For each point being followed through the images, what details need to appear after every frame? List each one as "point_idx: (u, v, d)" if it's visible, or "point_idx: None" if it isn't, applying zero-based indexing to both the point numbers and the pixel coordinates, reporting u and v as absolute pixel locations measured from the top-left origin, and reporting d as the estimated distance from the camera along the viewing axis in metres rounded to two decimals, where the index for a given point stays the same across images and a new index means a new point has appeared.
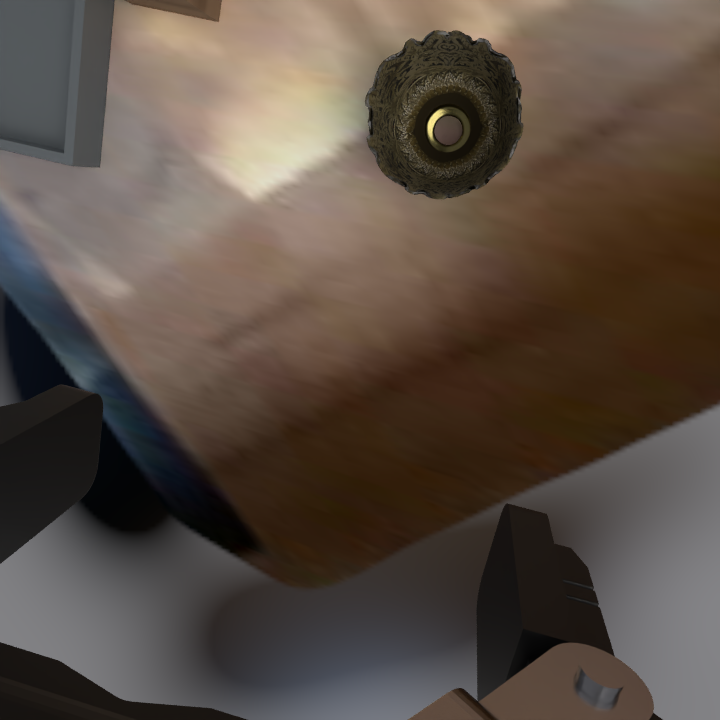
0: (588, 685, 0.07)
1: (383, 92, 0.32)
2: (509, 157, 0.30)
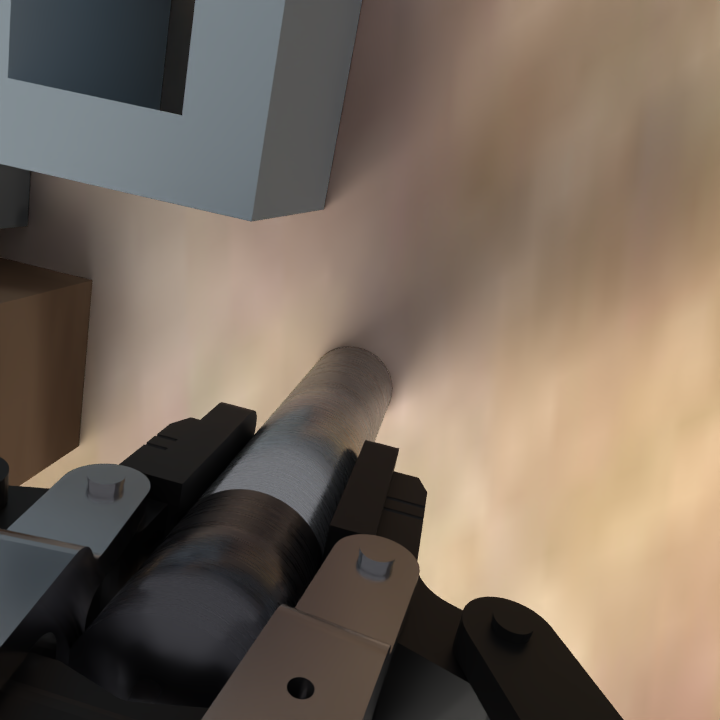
0: (369, 565, 0.08)
1: None
2: None
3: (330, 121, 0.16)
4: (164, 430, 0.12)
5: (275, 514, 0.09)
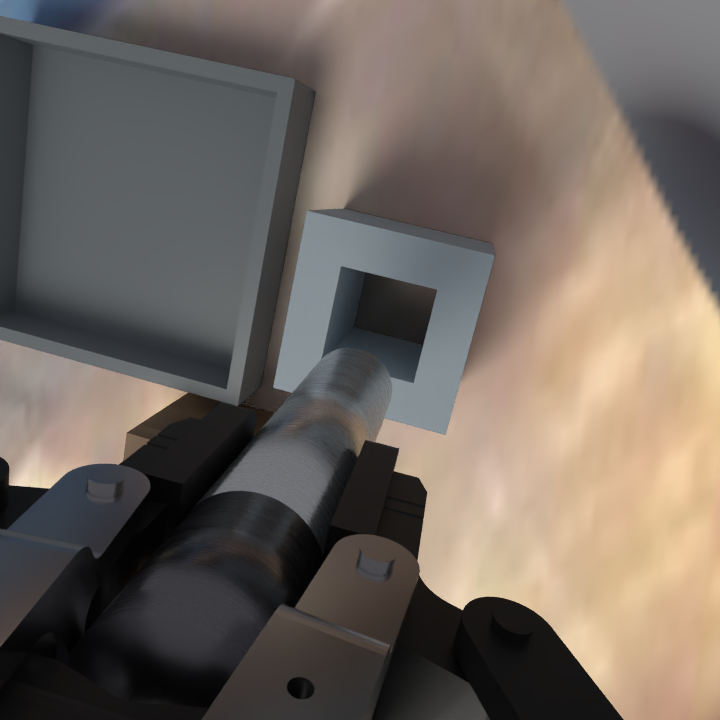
0: (370, 566, 0.08)
1: None
2: None
3: None
4: (164, 430, 0.12)
5: (275, 516, 0.09)
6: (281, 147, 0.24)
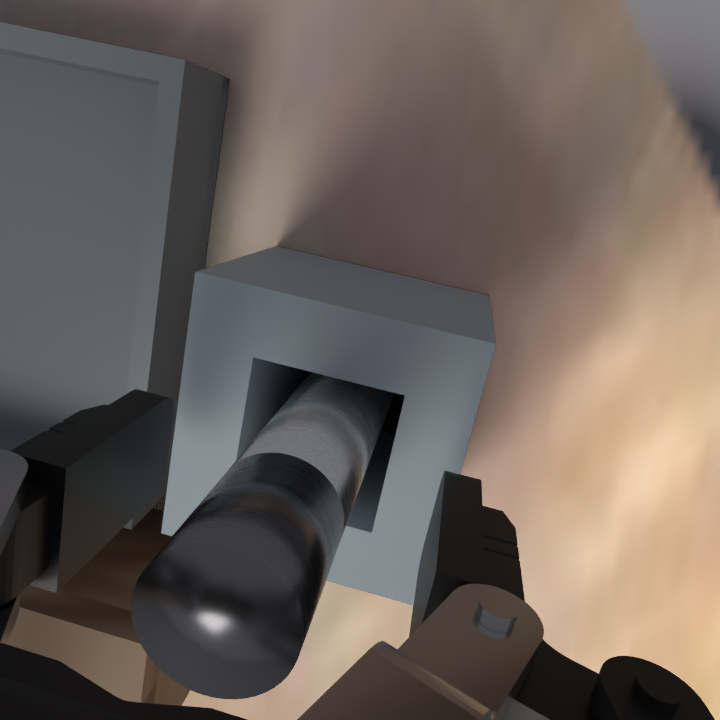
0: (487, 620, 0.08)
1: None
2: None
3: None
4: (71, 417, 0.12)
5: (303, 473, 0.11)
6: (170, 164, 0.16)
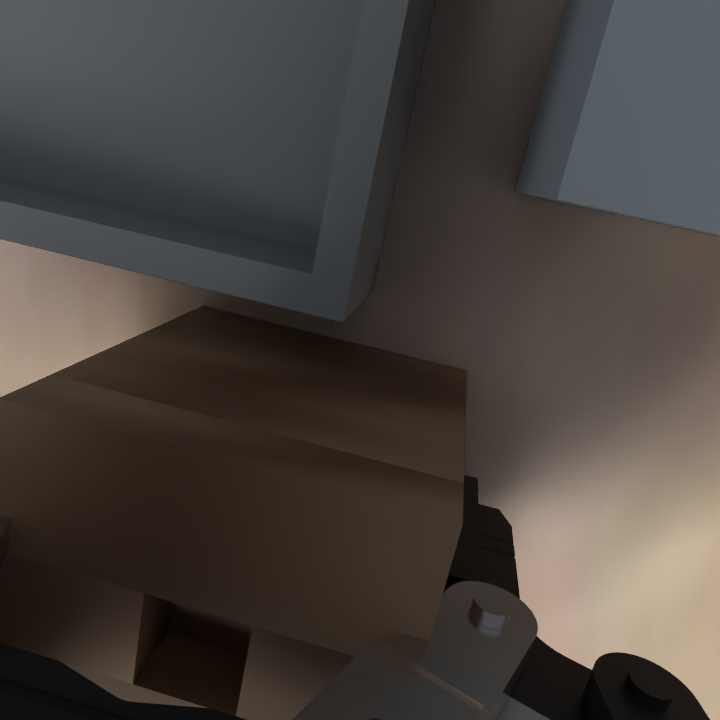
0: (483, 616, 0.08)
1: None
2: None
3: None
4: None
5: None
6: None
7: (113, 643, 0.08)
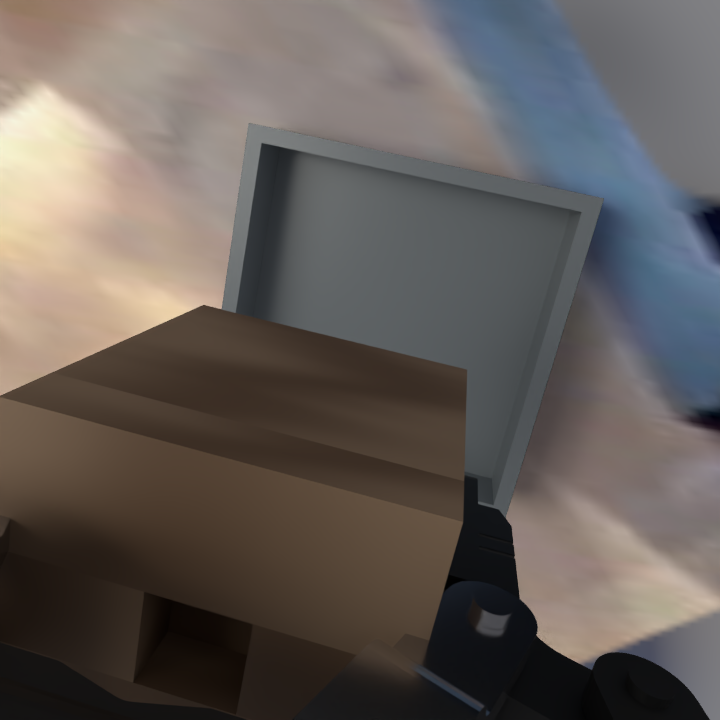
0: (482, 616, 0.08)
1: None
2: None
3: None
4: None
5: None
6: None
7: (114, 641, 0.08)
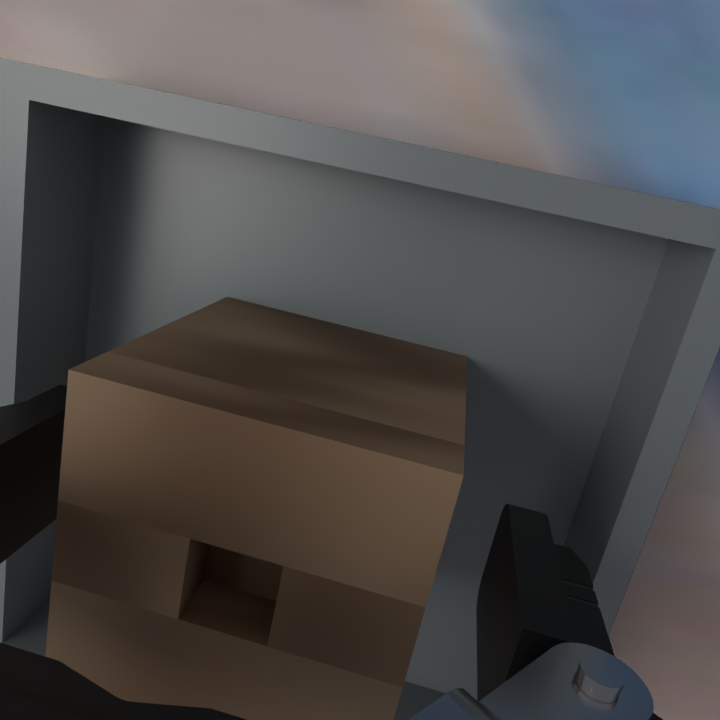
0: (588, 685, 0.07)
1: None
2: None
3: None
4: None
5: None
6: None
7: (162, 582, 0.09)
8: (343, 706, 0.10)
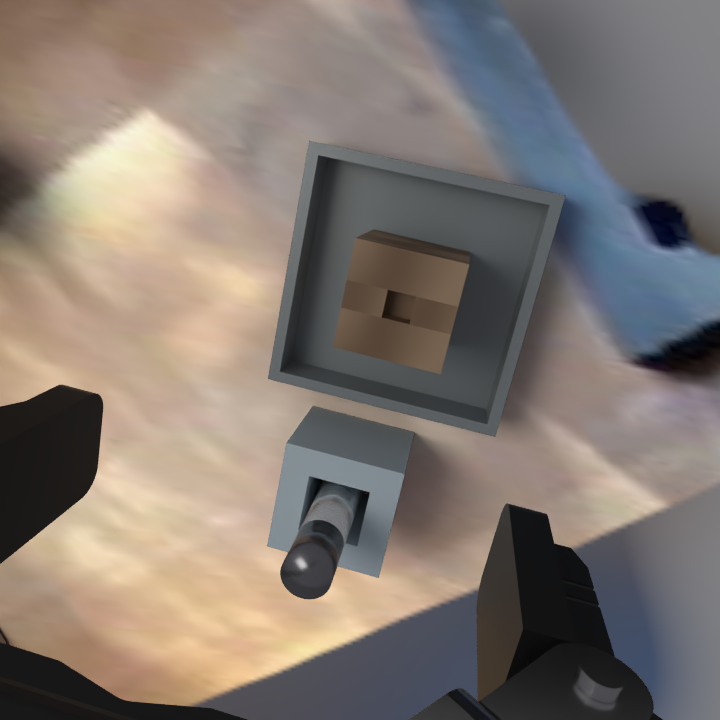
0: (588, 685, 0.07)
1: None
2: None
3: None
4: None
5: None
6: (451, 424, 0.36)
7: (377, 305, 0.31)
8: (432, 343, 0.31)
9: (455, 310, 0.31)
